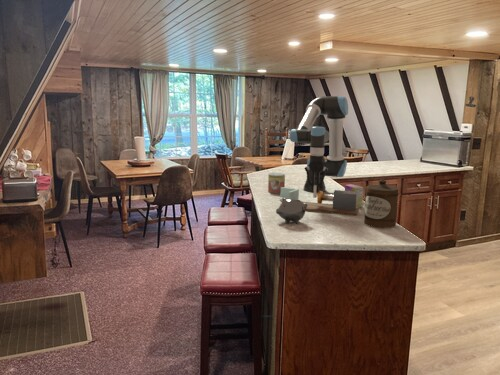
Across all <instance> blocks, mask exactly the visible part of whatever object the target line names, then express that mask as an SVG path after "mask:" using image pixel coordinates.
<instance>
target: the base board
mask: <svg viewBox="0 0 500 375" xmlns="http://www.w3.org/2000/svg"><path fill="white" fill-rule="evenodd" d="M302 202H303V203H304V204H307V208H306V210H305V212H311V213H323V214H335V215H345V216H346V215H347V216H358V210H359V207H358V206H356V210H355V211H351V210H339V209H333V203H323V202H322V204H321V203H318V202H310V201H302Z"/></svg>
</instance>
